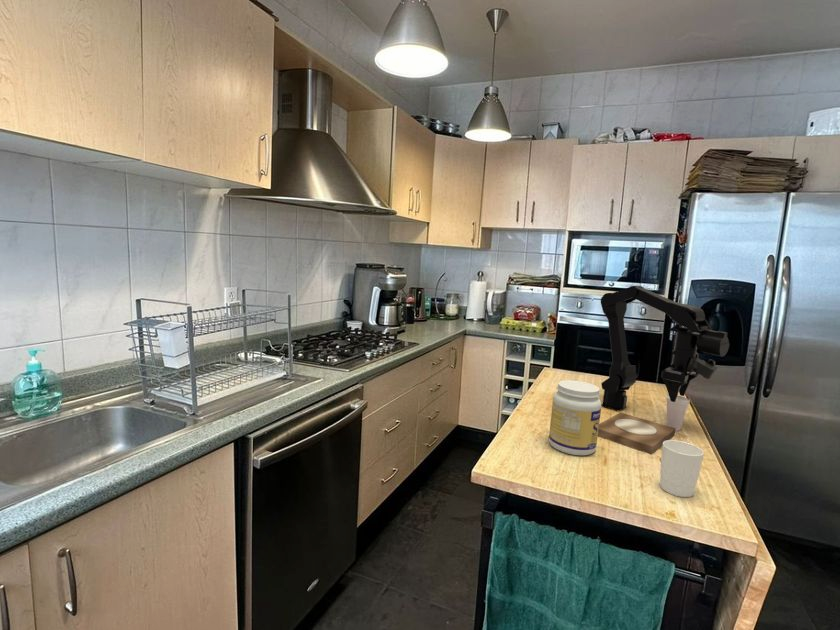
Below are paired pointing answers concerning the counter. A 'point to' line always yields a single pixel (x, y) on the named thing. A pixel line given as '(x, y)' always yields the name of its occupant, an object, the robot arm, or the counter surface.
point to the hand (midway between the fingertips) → (677, 398)
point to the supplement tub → (575, 417)
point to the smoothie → (676, 411)
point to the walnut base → (635, 432)
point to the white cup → (680, 467)
